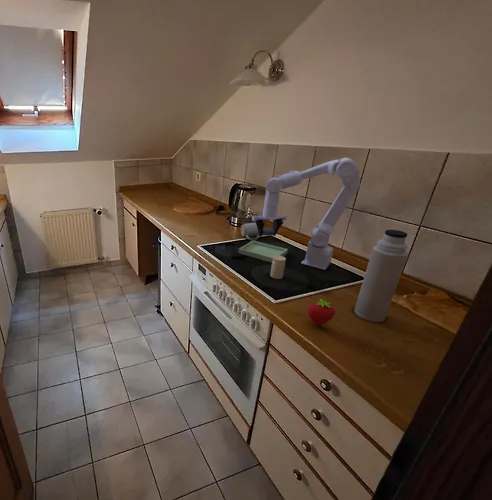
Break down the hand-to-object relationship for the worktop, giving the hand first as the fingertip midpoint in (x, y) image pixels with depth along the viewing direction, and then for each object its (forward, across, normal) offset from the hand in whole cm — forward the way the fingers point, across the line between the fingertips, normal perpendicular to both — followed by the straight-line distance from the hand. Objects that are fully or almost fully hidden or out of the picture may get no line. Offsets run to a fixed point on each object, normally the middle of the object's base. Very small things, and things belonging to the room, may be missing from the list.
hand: (266, 235), depth 134 cm
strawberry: (+10, -5, -52) cm, 53 cm away
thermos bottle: (+10, +14, -48) cm, 51 cm away
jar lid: (-2, 0, 0) cm, 2 cm away
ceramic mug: (+10, +2, +24) cm, 26 cm away
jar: (+10, -3, -20) cm, 23 cm away
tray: (+10, 0, +2) cm, 10 cm away
